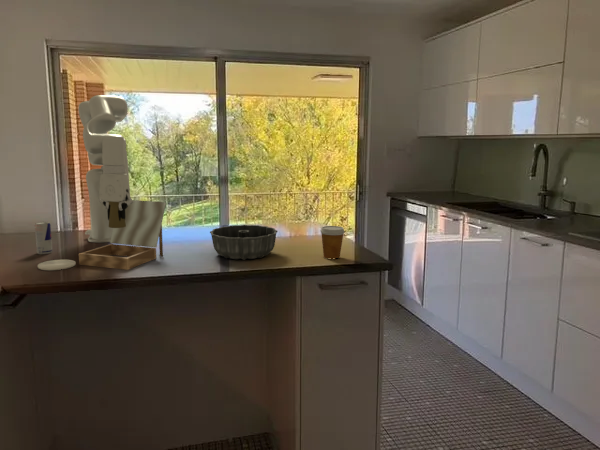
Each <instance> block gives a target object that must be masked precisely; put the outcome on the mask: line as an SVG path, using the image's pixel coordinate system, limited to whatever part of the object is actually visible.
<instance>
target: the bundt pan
mask: <svg viewBox="0 0 600 450" xmlns="http://www.w3.org/2000/svg"><path fill="white" fill-rule="evenodd" d="M209 234H210V235H211V240H212V245H213V248H214V251H215V252H216V253H217V254H218V255H219V256H221V257H223V256H224V257H223V258H225V259H227V258H230V259H233V260H240V259H241V260H243V261H245V260H247V259H249V260H254V259H257V258H258V259H261V258H263V257H265V256H268V255H269V254H270V253H271V252H272V251H273V249H274V248H275V245H276V238H277V237H276V236H277V234H278V230H277V229H276V228H274V227H271V226H267V225H266V226H265V225H257V224H249V225H248V224H240V225H239V224H238V225H236V224H235V225H228V226H220V227H217V228H213V229H212V230H210V231H209Z"/></svg>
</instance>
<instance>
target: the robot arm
mask: <svg viewBox="0 0 600 450" xmlns="http://www.w3.org/2000/svg"><path fill="white" fill-rule="evenodd" d="M128 110H129V107H128V104H127V101H126V99H125V98H124V97H122V96H120V95H119V96H118V95H104V94H100V95H99V94H98V95H93V96H92V97H90V99H89V100H85V101H82V102H80V103H79V104H78V115H79V119H80V122H81V124H82V127H83V131H82V138H83V139H82V140H83V144H84V148H85V151H86V152H87V158H88V161H89V164H91V165H92V166H101V167H100V168H93V169H90V170H87V172H86V174H85V180H86V186H87V187H86V188H87V190H88V197H89V199H88V201H89V214H90V229H87V230H86V231H85V232H84V234H85V235H89V236H88V238H87V241H88V242H90V243H95V244H96V243H97V244H99V243H100V244H101V243H103V244H104V243H110V241H111V236H112V232H113V228H110V227H109V216H110V205H109V202H119V210H118V217H119V221H120V220H121V218H122V219H125V210H126V209H127V207H128V206H129V205H130V204H132V203H133V201H132V200H133V198H132V196H131V190H130V189H131V188H130V173H129V163H128V162H129V161H128V152H127V140H126V138H125V137H124V136H123V135H122V134H117V133H116V134H115V133H108V132H110V131H113V129H114V128H115V127H116V124H117V123H121V122H123V121H124V120H125V118H126V117H127V115H128V113H129V112H128ZM126 201H127V202H126ZM122 203H123V205H122Z"/></svg>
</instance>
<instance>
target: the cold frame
mask: <svg viewBox="0 0 600 450" xmlns="http://www.w3.org/2000/svg"><path fill="white" fill-rule="evenodd" d="M132 201H133V203H132V204H130V205H129V206H128V207H127V209H126V210H125V223H126V227H123V228H113V232H112V236H111V241H110V242H109V244H106V245H103V246H99V247H96V248H93V249H90V250H87V251H83V252H79V253H78V265H80V266H81V265H82V266H90V267H99V268H107V269H108V268H110V269H118V270H119V269H120V270H126V271H129V270H131V269H134V268H136V267H138V266H141V265H143V264H146V263H148V262H150V261H154V260H156V259H157V247H158V246H159V247H158V248H159V256H161V257H163V256H164V254H163V253H164V249H163V248H164V247H163V246H164V245H163V243H164V242H163V220H164V215H165V209H166V205H167V202H166V201H154V200H152V201H151V200H140V199H139V200H138V199H137V200H136V199H132ZM126 202H127V201H126ZM158 244H159V245H158Z"/></svg>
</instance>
